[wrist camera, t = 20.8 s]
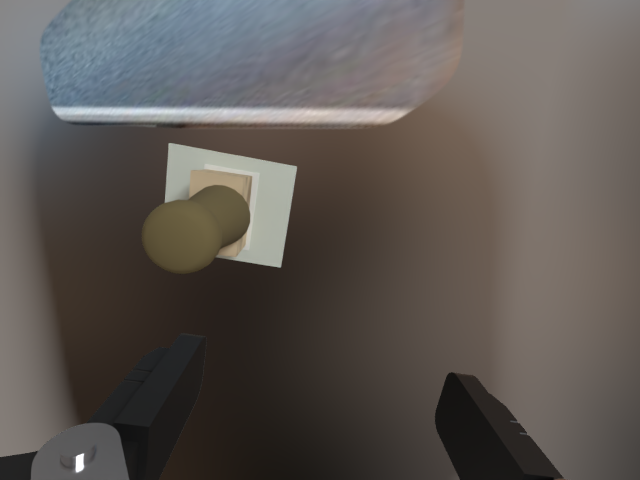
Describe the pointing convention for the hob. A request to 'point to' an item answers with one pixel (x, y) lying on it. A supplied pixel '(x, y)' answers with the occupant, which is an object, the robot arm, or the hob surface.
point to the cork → (195, 229)
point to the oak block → (232, 180)
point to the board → (265, 201)
